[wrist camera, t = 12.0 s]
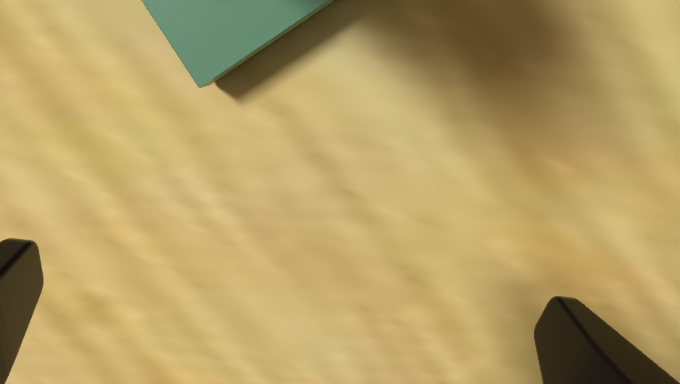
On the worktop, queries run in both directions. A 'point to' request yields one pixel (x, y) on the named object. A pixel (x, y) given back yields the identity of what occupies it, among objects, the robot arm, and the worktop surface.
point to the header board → (225, 30)
